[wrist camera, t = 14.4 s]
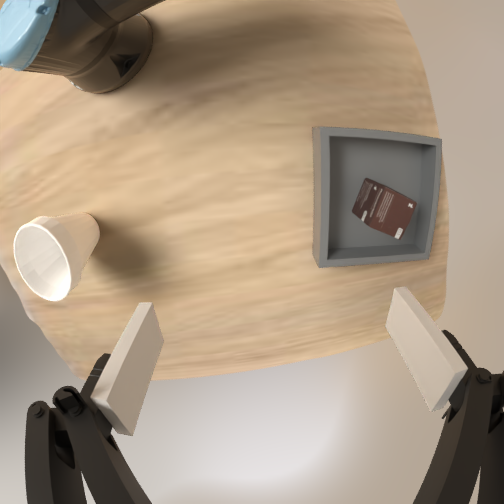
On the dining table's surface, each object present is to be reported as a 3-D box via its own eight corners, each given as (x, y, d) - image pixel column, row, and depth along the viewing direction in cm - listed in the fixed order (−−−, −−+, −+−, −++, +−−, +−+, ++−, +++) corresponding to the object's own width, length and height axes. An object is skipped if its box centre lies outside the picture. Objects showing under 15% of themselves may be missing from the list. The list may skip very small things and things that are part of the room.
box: (364, 176, 38) (385, 185, 32) (395, 190, 39) (418, 202, 32) (350, 211, 41) (368, 227, 34) (380, 224, 41) (401, 241, 35)
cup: (70, 184, 39) (19, 206, 26) (123, 220, 42) (81, 255, 29) (53, 239, 43) (10, 271, 30) (100, 273, 46) (63, 316, 33)
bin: (312, 127, 36) (319, 126, 32) (425, 137, 36) (441, 139, 31) (312, 254, 44) (318, 267, 40) (416, 248, 44) (428, 259, 40)
